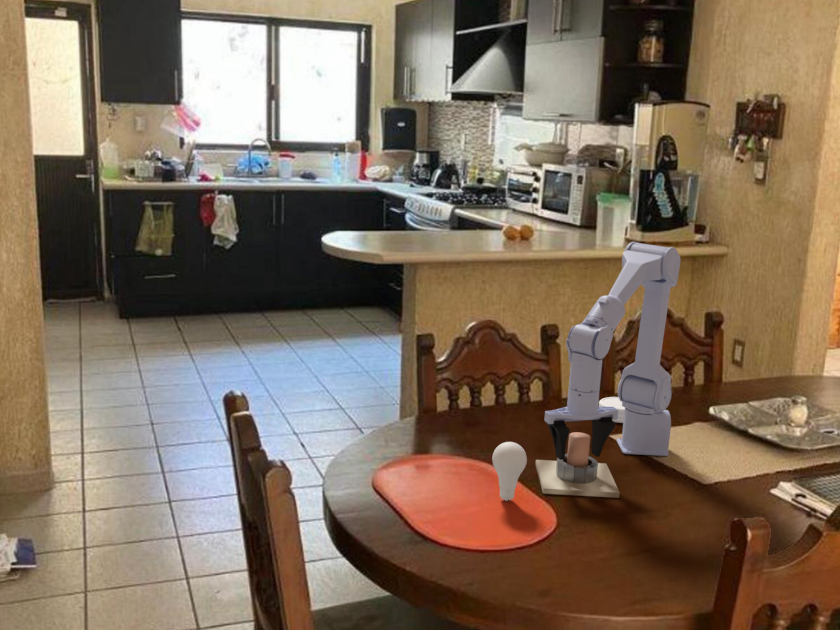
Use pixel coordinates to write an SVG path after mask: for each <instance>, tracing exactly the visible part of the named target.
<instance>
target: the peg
mask: <svg viewBox="0 0 840 630" xmlns="http://www.w3.org/2000/svg"><path fill="white" fill-rule="evenodd" d="M590 447H591V435H590V434H587V433H585V432H579V431H578V432H577V431H575V432H571V433H570V432H569V434H568V444H567V453H566V454H567V464H569V465H573V466H582V467H584V466H588V458H589V456H590Z"/></svg>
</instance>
